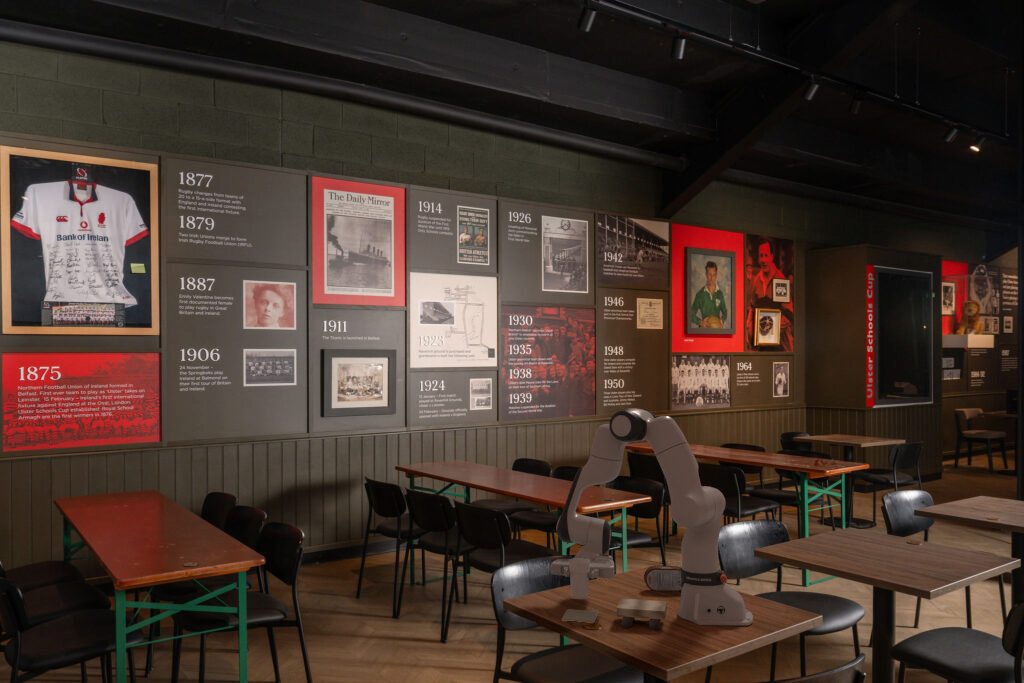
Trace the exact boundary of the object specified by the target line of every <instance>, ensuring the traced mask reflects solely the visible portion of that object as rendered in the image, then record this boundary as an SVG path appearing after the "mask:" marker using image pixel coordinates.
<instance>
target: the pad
mask: <svg viewBox="0 0 1024 683" xmlns="http://www.w3.org/2000/svg"><path fill="white" fill-rule="evenodd" d="M598 614H599V615H600V611H598V610H597V611H596V610H584V609H571V608H570V609H569V608H567V609H566V611H565V612H564V614H563V616H562V618H561V620H562V619H563V620H574V621H582V622H592V623H591V624H593V623H594V622H595V623H596V621H597V619H596V618H598V617H599V615H598ZM597 616H598V617H597ZM595 620H596V621H595ZM595 623H594V624H595Z"/></svg>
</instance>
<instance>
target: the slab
mask: <svg viewBox="0 0 1024 683" xmlns="http://www.w3.org/2000/svg"><path fill="white" fill-rule="evenodd" d="M667 604H668V602H667V601H664V600H651V599H649V600H648V599H635V598H623V597H622V598H620V599H619V602H618V604H617V607H616V617H621V618H622V620H621V625H622V628H625V629H630V628H631V627H632V625H633V622H634V620H635V618H637V619H638V618H639V619H649V623H648V625H649V626H648V627H649V628H650V630H652V631H658V630H659V629H660V625H661V620H663V621H664V620H666V615H667V610H668V607H667Z"/></svg>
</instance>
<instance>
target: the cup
mask: <svg viewBox="0 0 1024 683" xmlns="http://www.w3.org/2000/svg"><path fill="white" fill-rule="evenodd" d="M569 571H570V577H569V578H570V579H569V582H570V597H571V598H572V599H575V600H585V599H587V598H588V597H589V584H590V583H589V582H590V581H589V580H590V579H589V578H588V577H589V575H588V574H589V571H590V560H588V559H584V558H574V557H573V558H570V560H569Z"/></svg>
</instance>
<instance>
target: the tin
mask: <svg viewBox="0 0 1024 683" xmlns="http://www.w3.org/2000/svg"><path fill="white" fill-rule="evenodd" d="M681 568H682V566H677V565H652V566H649V567H648V568H646V570H645V571H644V574H643V580H644V584H645V585H646V587H647V588H648V589H649V590H651V591H653V590H656V591H655V592H665V591H680V592H681V589H682V587H681V584H680V572H681ZM658 590H659V591H658ZM660 590H661V591H660Z"/></svg>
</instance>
